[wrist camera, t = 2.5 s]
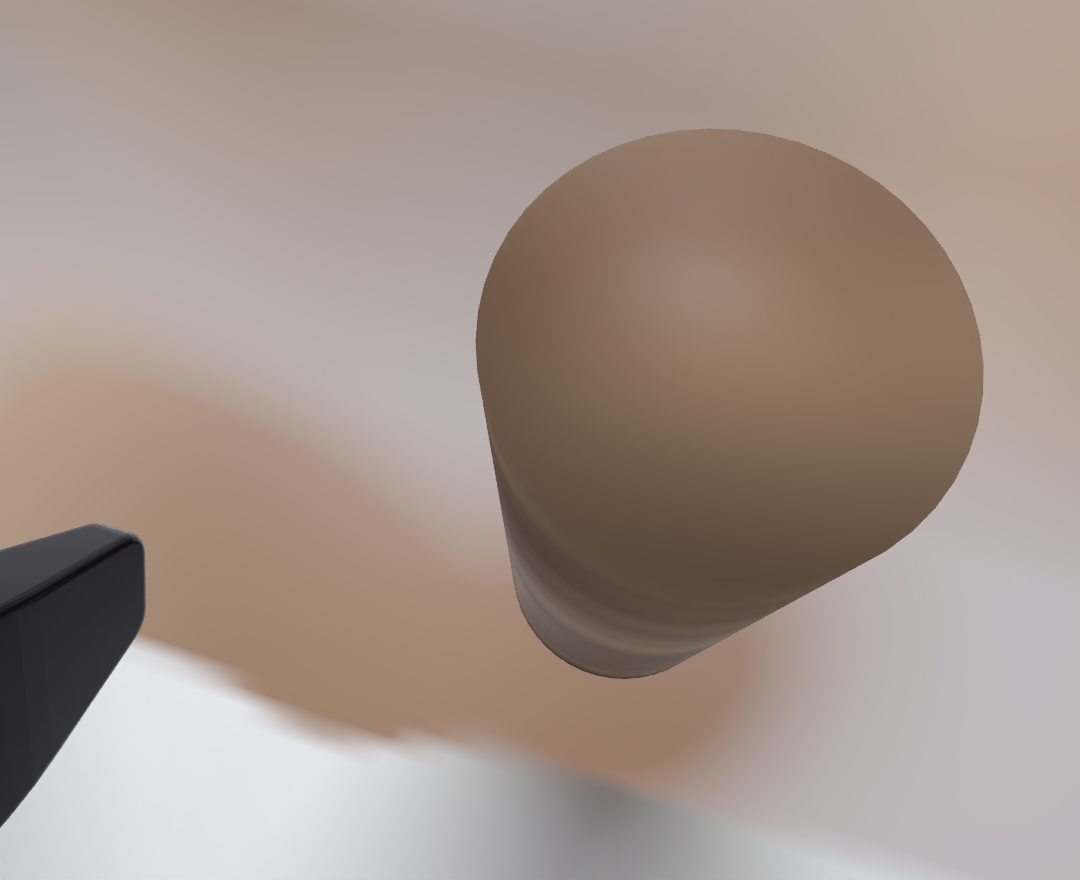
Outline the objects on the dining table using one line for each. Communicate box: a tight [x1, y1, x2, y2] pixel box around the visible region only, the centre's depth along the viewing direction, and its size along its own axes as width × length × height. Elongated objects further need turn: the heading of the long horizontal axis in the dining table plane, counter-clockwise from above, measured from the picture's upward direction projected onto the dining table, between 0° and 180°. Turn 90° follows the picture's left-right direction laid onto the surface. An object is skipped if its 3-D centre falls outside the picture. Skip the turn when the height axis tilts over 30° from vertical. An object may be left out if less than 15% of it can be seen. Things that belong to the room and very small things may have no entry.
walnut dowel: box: [476, 129, 983, 679], centre depth 13 cm, size 4×4×11 cm
